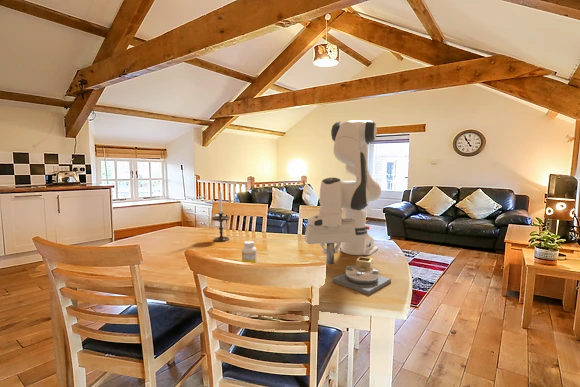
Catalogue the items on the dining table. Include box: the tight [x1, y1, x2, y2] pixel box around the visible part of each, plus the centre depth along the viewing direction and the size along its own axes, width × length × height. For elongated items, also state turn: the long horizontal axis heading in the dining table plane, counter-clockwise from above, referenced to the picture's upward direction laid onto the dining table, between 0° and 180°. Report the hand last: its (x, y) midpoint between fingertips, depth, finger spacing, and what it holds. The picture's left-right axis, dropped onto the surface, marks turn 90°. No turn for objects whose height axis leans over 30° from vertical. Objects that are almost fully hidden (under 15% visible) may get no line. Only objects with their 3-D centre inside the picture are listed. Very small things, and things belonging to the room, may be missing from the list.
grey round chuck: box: [345, 255, 380, 284], centre depth 124 cm, size 14×13×6 cm
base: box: [331, 272, 392, 296], centre depth 124 cm, size 17×17×4 cm
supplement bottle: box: [241, 240, 258, 264], centre depth 138 cm, size 7×7×13 cm
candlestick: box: [211, 185, 231, 243], centre depth 188 cm, size 11×11×35 cm
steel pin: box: [325, 243, 335, 266], centre depth 120 cm, size 3×3×9 cm
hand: (330, 253), depth 120 cm, fingers closed on steel pin, 3 cm apart
